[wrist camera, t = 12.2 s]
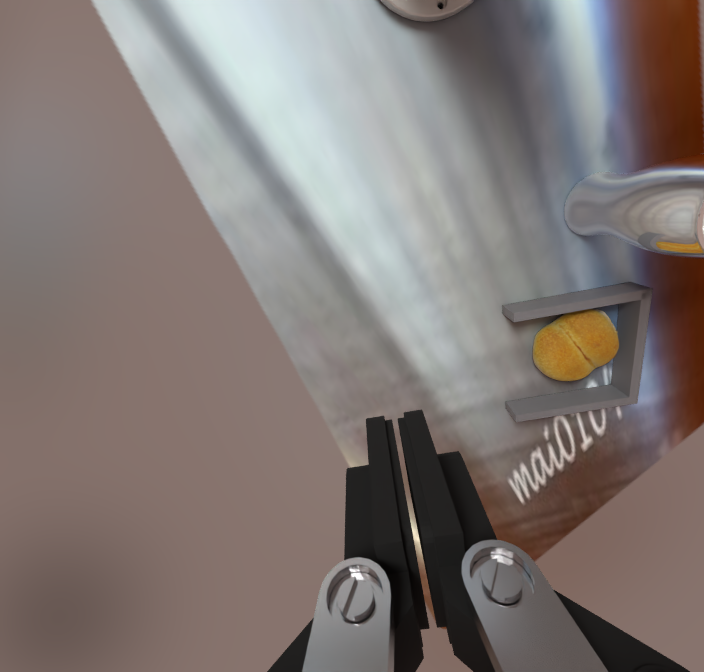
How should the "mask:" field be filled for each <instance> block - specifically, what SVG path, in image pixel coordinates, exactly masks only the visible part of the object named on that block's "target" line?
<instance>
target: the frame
mask: <svg viewBox="0 0 704 672" xmlns="http://www.w3.org/2000/svg"><path fill="white" fill-rule="evenodd" d="M652 290H653V289H652V288H649V287H646V286H642V285H639V284H636V283H632V282H628V283H622V284H617V285H611V286H606V287H600V288H595V289H589V290H584V291H578V292H573V293H567V294H562V295H556V296H551V297H545V298H540V299H534V300H529V301H523V302H518V303H512V304H507V305H502V313H503V314H504V315H505V316H506V317H508V318H509V319H510V320H512V321H513V322H519V321H524V320H530V319H535V318H541V317H547V316H552V315H558V314H564V313H569V312H575V311H580V310H586V309H592V308H597V307H603V306H609V305H614V304H619V310H618V320H617V330H616V331H617V332H618V333H617V335H618V340H619V348H618V351H617V353H616V355H615V357H614V360H613V370H612V380H611V385H605V386H599V387H593V388H586V389H580V390H574V391H568V392H562V393H555V394H549V395H543V396H537V397H531V398H525V399H518V400H512V401H506V402H505V404H506V409H507V411H508V412H509V413H510V415H511V416H512V417H513V419H514V420H515V422H521V421H527V420H534V419H540V418H547V417H553V416H559V415H566V414H572V413H578V412H585V411H591V410H598V409H604V408H610V407H617V406H623V405H629V404H636V403H637V401H638V394H639V386H640V379H641V371H642V364H643V357H644V349H645V342H646V334H647V327H648V319H649V312H650V305H651V297H652Z"/></svg>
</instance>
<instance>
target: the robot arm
mask: <svg viewBox="0 0 704 672" xmlns="http://www.w3.org/2000/svg"><path fill="white" fill-rule="evenodd" d="M380 1H381V2H382V3H384V4H385V5H386V6H387V7H388V8H389V9H390V10H392V11H393V12H395V13H397V14H398V15H400V16H402V17H405V18H408V19H411V20H414V21H426V22H431V21H436V20H442V19H445V18H448V17H450V16H452V15H455V14H457V13H459V12H460V11H462V10H463V9H464V8H466V7H467V6H469V5H470V4H471V3H472V2H473V1H474V0H380ZM438 5H441V6H442V9H439V8H438V7H437V6H438ZM398 424H399V430H400V436H401V441H402V447H403V453H404V459H405V464H406V470H407V476H408V482H409V487H410V493H411V498H412V503H413V508H414V513H415V518H416V523H417V528H418V533H419V539H420V544H421V549H422V554H423V559H424V564H425V569H426V574H427V579H428V584H429V589H430V594H431V599H432V604H433V609H434V614H435V619H436V624H437V627H446V628H447V632H448V637H449V641H450V644H452V647H453V651H454V655H455V656H457V657H458V658H459V659H460V660H461V661H462V662H463V663H464V664H465V665H467V666H468V667H469V668H470V669H471V670H472V671H473V672H690V671H688V670H687V669H685V668H684V667H682V666H681V665H679V664H677V663H676V662H674V661H672V660H671V659H669V658H667V657H666V656H664V655H662V654H660V653H659V652H657V651H655V650H654V649H652V648H650V647H649V646H647V645H645V644H643V643H642V642H640V641H639V640H637V639H635V638H633V637H632V636H630V635H629V634H627V633H625V632H623V631H622V630H620V629H619V628H617V627H615V626H614V625H612V624H610V623H609V622H607V621H605V620H603V619H602V618H600V617H599V616H597V615H595V614H593V613H592V612H590V611H588V610H587V609H585V608H583V607H582V606H580V605H578V604H577V603H575V602H573V601H572V600H570V599H568V598H567V597H565V596H563V595H562V594H560V593H558V592H557V591H555V590H553V589H552V587H551V586H550V584H549V583H548V581H547V580H546V578H545V577H544V575H543V574H542V572H541V571H540V569H539V568H538V566H537V565H536V564H535V562H534V561H533V560H532V559H531V558H530V557H529V555H528V554H527V553H525V552H524V551H522V550H521V549H520V548H518V547H517V546H515V545H512V544H510V543H508V542H505V541H500V540H497V538H496V536H495V533H494V531H493V529H492V526H491V524H490V522H489V519H488V517H487V515H486V512H485V510H484V508H483V505H482V503H481V501H480V498H479V496H478V493H477V491H476V489H475V486H474V484H473V482H472V479H471V477H470V475H469V472H468V470H467V468H466V465H465V463H464V461H463V458H462V456H461V454H460V453H459V451H457V452H450V453H444V454H437V453H436V450H435V447H434V444H433V441H432V438H431V435H430V432H429V429H428V426H427V423H426V420H425V417H424V414H423V411H422V410H416V411H410V412H404V418H398ZM366 428H367V444H368V460H369V465H365V466H359V467H352V468H347V473H346V511H345V555H344V556H345V558H344V561H343V562H341V563H339V564H338V565H336V566H335V567H334V568H333V569H332V570H331V571H330V572H329V573H328V575H327V576H326V578H325V579H324V581H323V583H322V586H321V589H320V592H319V596H318V601H317V605H316V610H315V615H314V618H313V619H312V620H311V621H310V623H309V624H308V625H307V626H306V627H305V628H304V629H303V631H302V632H301V633H300V634H299V635H298V637H297V638H296V639H295V640H294V641H293V642H292V643H291V645H290V646H289V647H288V648H287V649H286V650H285V652H284V653H283V654H282V655H281V656H280V657H279V659H278V660H277V661H276V662H275V663H274V664H273V666H272V667H271V668H270V669H269V670H268V671H267V672H416V670H417V668H418V667H419V665H420V663H421V662H422V660H423V658H424V656H423V650H422V647H423V643H422V637H421V631H420V630H421V629H429V623H428V618H427V612H426V606H425V601H424V595H423V590H422V584H421V578H420V573H419V567H418V562H417V556H416V551H415V545H414V540H413V534H412V528H411V523H410V517H409V512H408V506H407V501H406V495H405V490H404V484H403V479H402V473H401V468H400V462H399V456H398V451H397V445H396V440H395V434H394V429H393V423H392V420H386V421H385V419H384V416H380V417H373V418H367V419H366Z"/></svg>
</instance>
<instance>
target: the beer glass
mask: <svg viewBox="0 0 704 672" xmlns="http://www.w3.org/2000/svg"><path fill="white" fill-rule="evenodd" d="M564 217H565V221H566V223H567V225H568V227H569V228H570V229H571V230H572V231H573V232H575V233H577V234H579V235H583V236H596V235H611V236H613V237H616V238H618V239H620V240H623V241H625V242H627V243H629V244H632V245H634V246H637V247H639V248H642V249H645V250H648V251H651V252H656V253H660V254H665V255H670V256H677V257H685V258H695V259H704V153H703V154H697V155H691V156H685V157H681V158H677V159H673V160H669V161H665V162H662V163H659V164H656V165H653V166H650V167H647V168H644V169H641V170H638V171H635V172H632V173H628V174H618V173H613V172H596V173H593V174H590V175H588V176H586V177H585V178H583V179H582V180H580V181H579V182H578V183H577V184H576V185H575V186H574V187H573V188H572V190H571V191H570V193H569V195H568V197H567V199H566V202H565V206H564Z"/></svg>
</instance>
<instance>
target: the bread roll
mask: <svg viewBox="0 0 704 672" xmlns="http://www.w3.org/2000/svg"><path fill="white" fill-rule="evenodd" d="M617 333H618V332H617V331H616V330H615V327H614V325H613V324H612V322H611V320H610V318H609V317H608V316H607V315H606V313H605V312H603V311H602V310H599V309H586V310H580V311H575V312H569V313H566V314H564V315H562V316H561V317H560V318H558V319H556V320H555V321H554V322H552V323H550V324H548V325H547V326H545V327H544V328H542V329H541V330H540V331H539V332H538V333H537V334H536V336H535V338H534V345H533V360H534V363H535V365H536V367H537V368H538V369H539V370H540V371H541V372H542V373H543V374H545V375H546V376H548V377H550V378H552V379H556V380H559V381H574V380H579V379H582V378H584V377H586V376H587V375H589V374H590V373H591V372H592V371H593V370H594V369H595V368H597V367H599V366H602V365H604V364H606V363H608V362H609V361H610V360H611V359H613V358H614V357H615V355H616V353H617V351H618V348H619V340H618V335H617Z"/></svg>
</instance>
